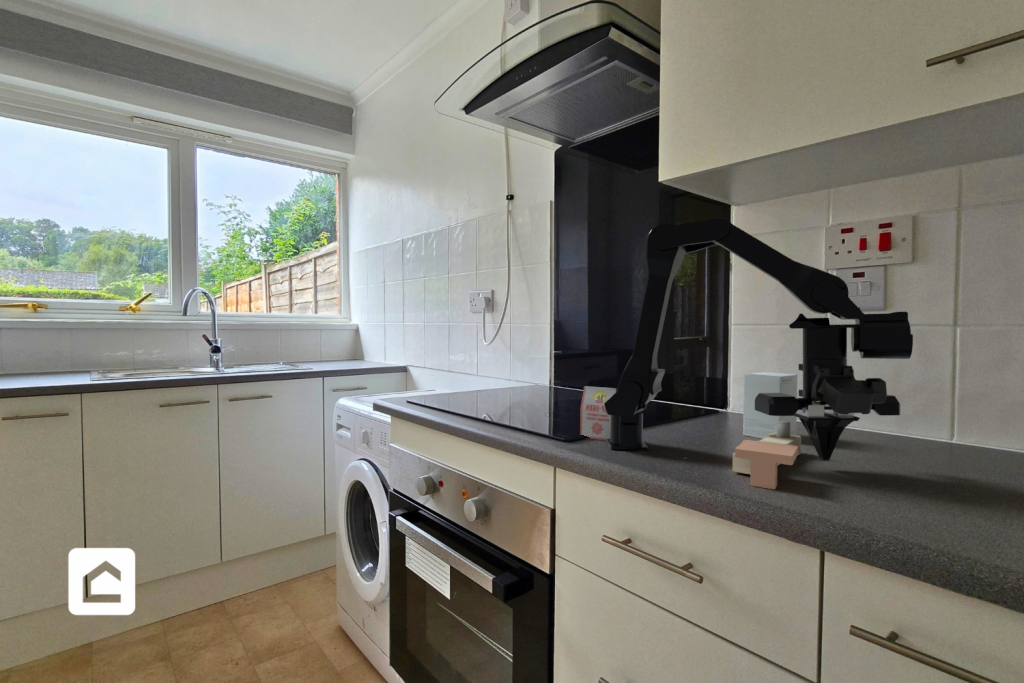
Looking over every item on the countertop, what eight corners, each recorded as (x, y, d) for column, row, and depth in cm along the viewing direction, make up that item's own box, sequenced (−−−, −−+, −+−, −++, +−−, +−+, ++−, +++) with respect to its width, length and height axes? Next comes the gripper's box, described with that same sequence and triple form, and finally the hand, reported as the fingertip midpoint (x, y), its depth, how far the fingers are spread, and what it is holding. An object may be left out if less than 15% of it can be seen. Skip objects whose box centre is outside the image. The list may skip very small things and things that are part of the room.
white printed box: (587, 434, 101) (588, 385, 101) (619, 438, 98) (619, 387, 97) (580, 437, 98) (580, 387, 98) (612, 441, 94) (613, 389, 94)
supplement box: (779, 442, 94) (780, 375, 93) (741, 435, 100) (742, 373, 99) (797, 437, 98) (798, 373, 98) (760, 431, 104) (761, 371, 104)
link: (771, 446, 89) (772, 418, 89) (804, 451, 85) (804, 421, 85) (728, 470, 74) (728, 436, 74) (765, 477, 70) (766, 441, 70)
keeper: (744, 470, 75) (744, 439, 75) (797, 479, 71) (798, 445, 71) (734, 482, 69) (735, 448, 69) (791, 492, 65) (792, 456, 65)
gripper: (787, 362, 68) (787, 475, 68) (929, 360, 67) (929, 475, 67) (752, 357, 79) (753, 455, 79) (874, 356, 78) (874, 455, 78)
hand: (824, 460), depth 76 cm, fingers closed
